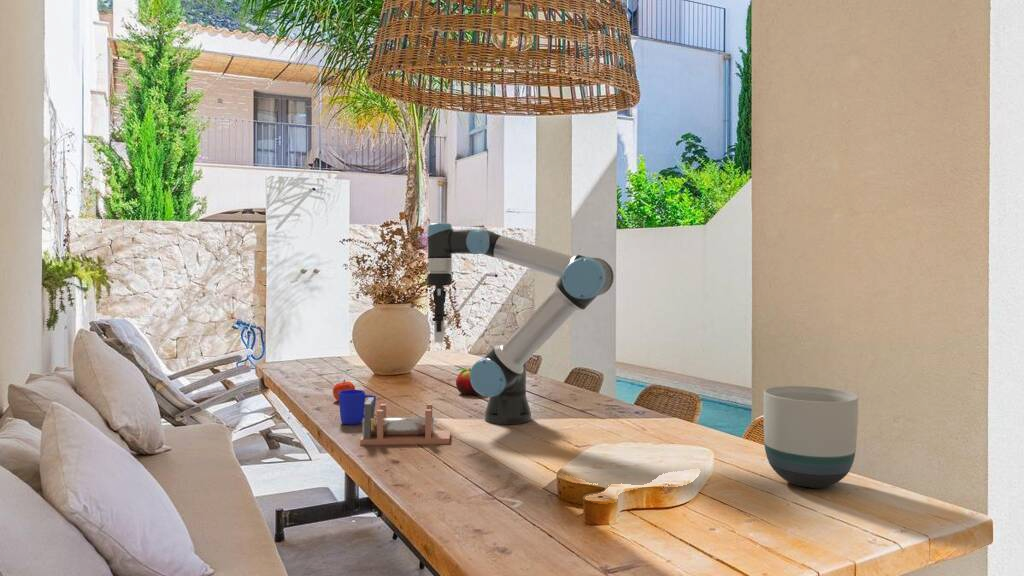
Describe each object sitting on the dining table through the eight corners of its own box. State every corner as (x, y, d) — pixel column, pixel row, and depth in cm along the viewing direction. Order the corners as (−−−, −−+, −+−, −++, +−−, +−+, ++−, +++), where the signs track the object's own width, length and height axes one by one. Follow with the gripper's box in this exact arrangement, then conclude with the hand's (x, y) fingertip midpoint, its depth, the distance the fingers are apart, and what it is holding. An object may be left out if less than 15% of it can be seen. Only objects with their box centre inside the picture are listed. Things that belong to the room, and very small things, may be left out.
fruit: (482, 396, 279) (483, 370, 279) (454, 396, 279) (454, 370, 279) (484, 391, 290) (484, 366, 290) (456, 391, 290) (456, 366, 290)
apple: (360, 400, 271) (360, 378, 271) (344, 404, 264) (344, 382, 264) (344, 398, 275) (344, 376, 275) (328, 401, 268) (328, 379, 268)
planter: (849, 504, 158) (851, 405, 157) (752, 488, 169) (754, 395, 168) (861, 480, 176) (863, 391, 175) (773, 467, 186) (774, 383, 185)
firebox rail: (450, 435, 218) (450, 396, 218) (449, 443, 209) (449, 403, 208) (364, 436, 217) (364, 397, 216) (360, 444, 207) (359, 404, 206)
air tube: (433, 425, 216) (433, 413, 213) (433, 439, 212) (432, 427, 209) (364, 426, 215) (363, 414, 211) (363, 439, 210) (361, 427, 207)
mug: (370, 427, 228) (370, 395, 228) (334, 425, 231) (334, 393, 230) (380, 421, 236) (380, 390, 236) (345, 419, 239) (345, 389, 238)
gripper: (429, 271, 243) (429, 335, 244) (425, 273, 218) (425, 344, 219) (452, 271, 244) (452, 335, 245) (450, 273, 219) (450, 344, 220)
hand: (439, 339), depth 232 cm, fingers open, 13 cm apart
